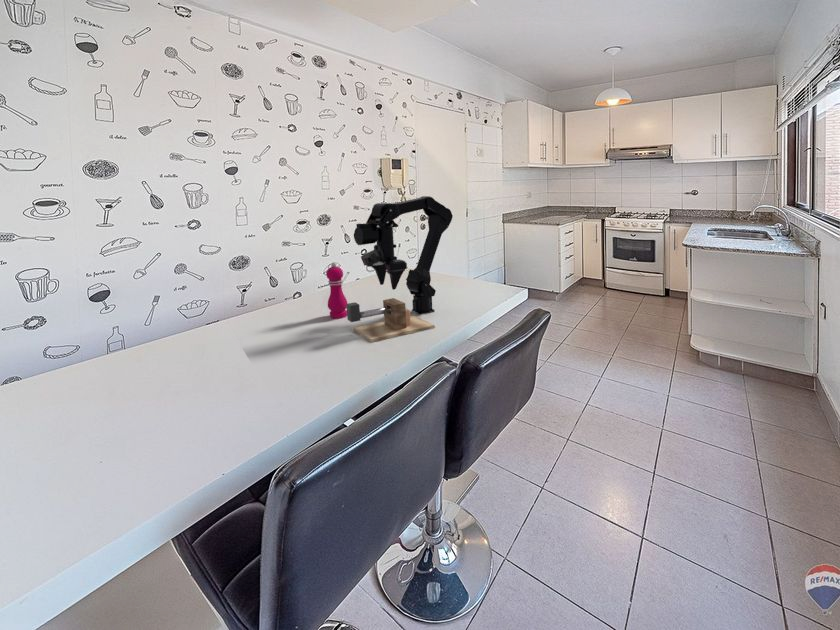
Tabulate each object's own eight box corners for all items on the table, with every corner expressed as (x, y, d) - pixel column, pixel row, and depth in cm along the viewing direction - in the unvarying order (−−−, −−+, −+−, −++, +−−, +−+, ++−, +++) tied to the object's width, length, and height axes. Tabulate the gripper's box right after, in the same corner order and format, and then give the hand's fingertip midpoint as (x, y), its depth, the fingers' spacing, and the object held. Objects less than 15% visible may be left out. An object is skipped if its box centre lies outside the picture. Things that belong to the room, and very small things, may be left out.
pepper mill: (344, 319, 161) (339, 264, 155) (325, 318, 163) (320, 264, 157) (351, 313, 168) (346, 260, 162) (333, 313, 169) (328, 260, 164)
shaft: (394, 310, 148) (393, 295, 147) (398, 312, 146) (397, 297, 144) (347, 319, 141) (346, 303, 139) (351, 322, 138) (350, 306, 136)
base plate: (413, 317, 160) (413, 315, 159) (434, 327, 148) (434, 324, 148) (353, 330, 149) (353, 327, 148) (371, 342, 137) (371, 339, 137)
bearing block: (395, 321, 153) (393, 298, 150) (406, 327, 146) (405, 303, 143) (384, 324, 151) (383, 300, 148) (395, 330, 144) (394, 305, 142)
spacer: (402, 321, 152) (401, 306, 151) (410, 325, 148) (409, 309, 146) (397, 322, 152) (396, 307, 150) (405, 326, 147) (404, 311, 145)
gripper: (351, 241, 154) (355, 285, 159) (375, 247, 139) (378, 296, 143) (381, 238, 159) (383, 281, 164) (406, 243, 144) (408, 290, 148)
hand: (387, 287), depth 155 cm, fingers open, 9 cm apart
